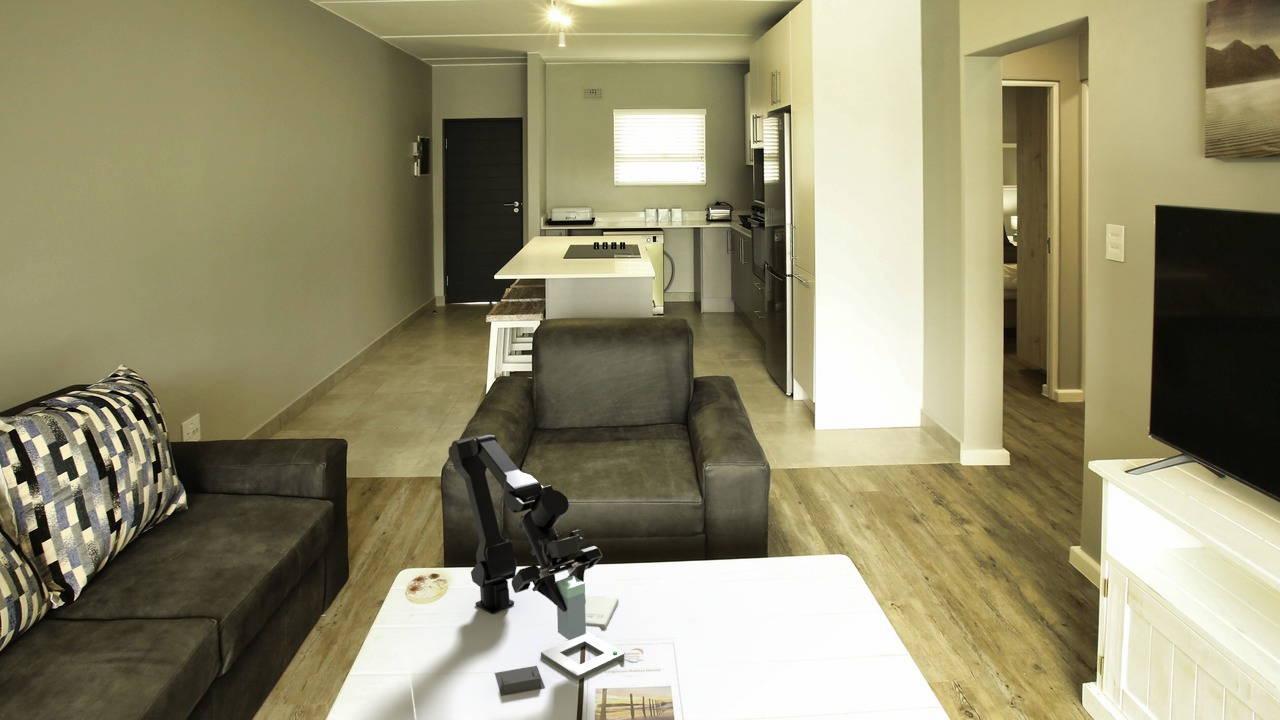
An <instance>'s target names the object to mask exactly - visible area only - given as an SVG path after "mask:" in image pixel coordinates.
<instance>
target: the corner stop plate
mask: <svg viewBox="0 0 1280 720" xmlns="http://www.w3.org/2000/svg"><path fill="white" fill-rule="evenodd" d="M494 675H495V680H496V682H497V685H498V689H499V693H500V696H501V697H504V696H509V695H516V694H521V693H526V692H532V691H537V690H542V689H546V686H545V684H544V680H543V679H542V675H541V674H540V670H539V668H538V665H533V666H527V667H526V666H525V667H522V668H517V669H516V668H515V669H510V670H509V669H508V670H503V671H497V672H494Z"/></svg>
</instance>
